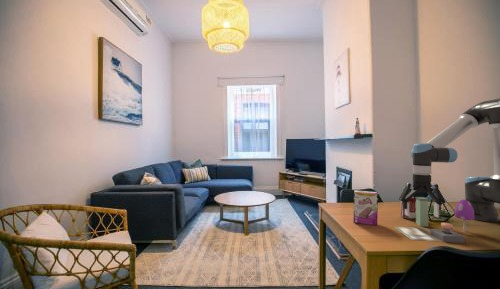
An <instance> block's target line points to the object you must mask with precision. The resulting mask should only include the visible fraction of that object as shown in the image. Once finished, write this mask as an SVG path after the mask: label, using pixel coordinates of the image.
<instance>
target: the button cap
mask: <svg viewBox="0 0 500 289" xmlns="http://www.w3.org/2000/svg"><path fill="white" fill-rule="evenodd" d="M440 228H442V229H444V233H445V234H450V230H454V224H453V223H450V222H440Z"/></svg>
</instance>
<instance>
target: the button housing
mask: <svg viewBox="0 0 500 289" xmlns="http://www.w3.org/2000/svg"><path fill="white" fill-rule="evenodd" d="M430 229H431V235H433V236H434V237H436V238H438V239H440V240H441V241H443V243H456V242H458V244H460V243H461V244H463V243H464V244H465V242H466V239H465V238H466V237H465V236H464V235H462V234H460V233H458V232H455V231H454V230H453V229H450V234H445V233H444V228H442V229H440V228H430Z"/></svg>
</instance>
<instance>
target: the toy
mask: <svg viewBox="0 0 500 289" xmlns="http://www.w3.org/2000/svg"><path fill="white" fill-rule="evenodd" d="M454 217H456V218H458V219H460V220H463V221H462V222H463V223H462V224H463V225H462V226H463V227H462V228H463V229H462V231H463V232H467V221H473V220H475V219H474V210H473V207H472V205H471V204H470V202H469V201H467V200H465V199H461V200H459V201H458V202H457V203H456V206H455V210H454Z"/></svg>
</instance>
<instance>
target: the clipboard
mask: <svg viewBox="0 0 500 289" xmlns="http://www.w3.org/2000/svg"><path fill="white" fill-rule="evenodd" d="M392 228H393V229H394V230H396V231H398V232H399V233H400V234H402V235H403V236H404V237H406V238H407V239H408V240H410V241H422V242H424V241H425V242H441V243H442V242H443V241H441V240H440V239H438V238H436V237H434V236H433V235H431V229H432V228H427V227H406V226H405V227H403V226H392ZM443 243H444V242H443ZM456 243H458V242H455V244H456ZM458 244H459V243H458Z"/></svg>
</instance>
